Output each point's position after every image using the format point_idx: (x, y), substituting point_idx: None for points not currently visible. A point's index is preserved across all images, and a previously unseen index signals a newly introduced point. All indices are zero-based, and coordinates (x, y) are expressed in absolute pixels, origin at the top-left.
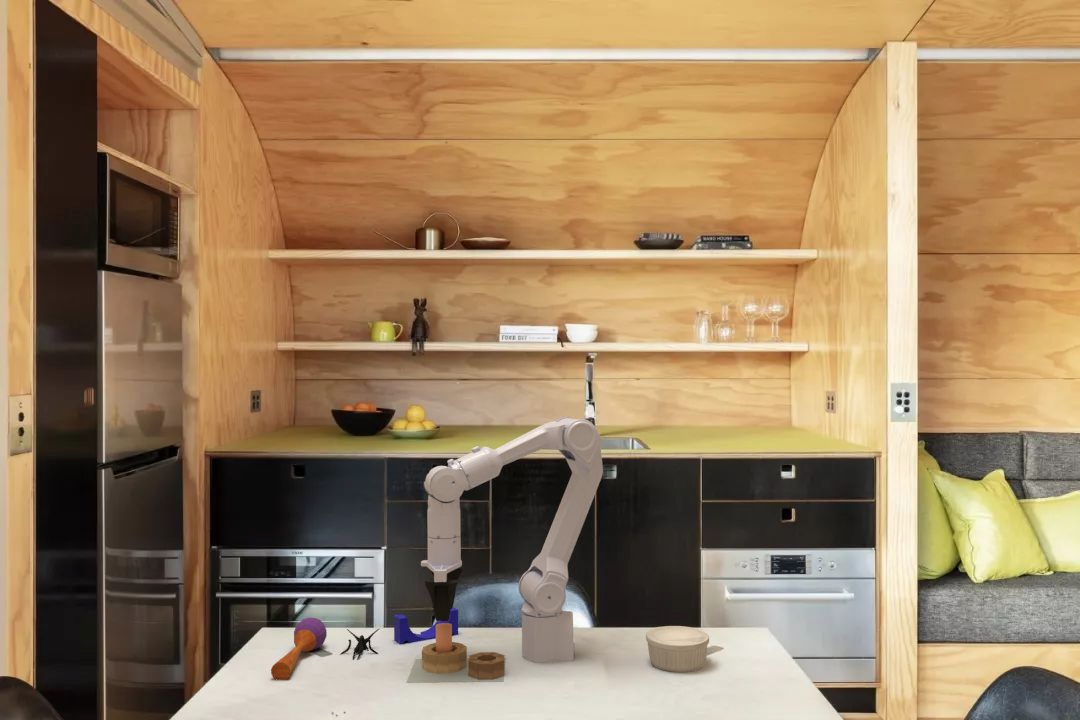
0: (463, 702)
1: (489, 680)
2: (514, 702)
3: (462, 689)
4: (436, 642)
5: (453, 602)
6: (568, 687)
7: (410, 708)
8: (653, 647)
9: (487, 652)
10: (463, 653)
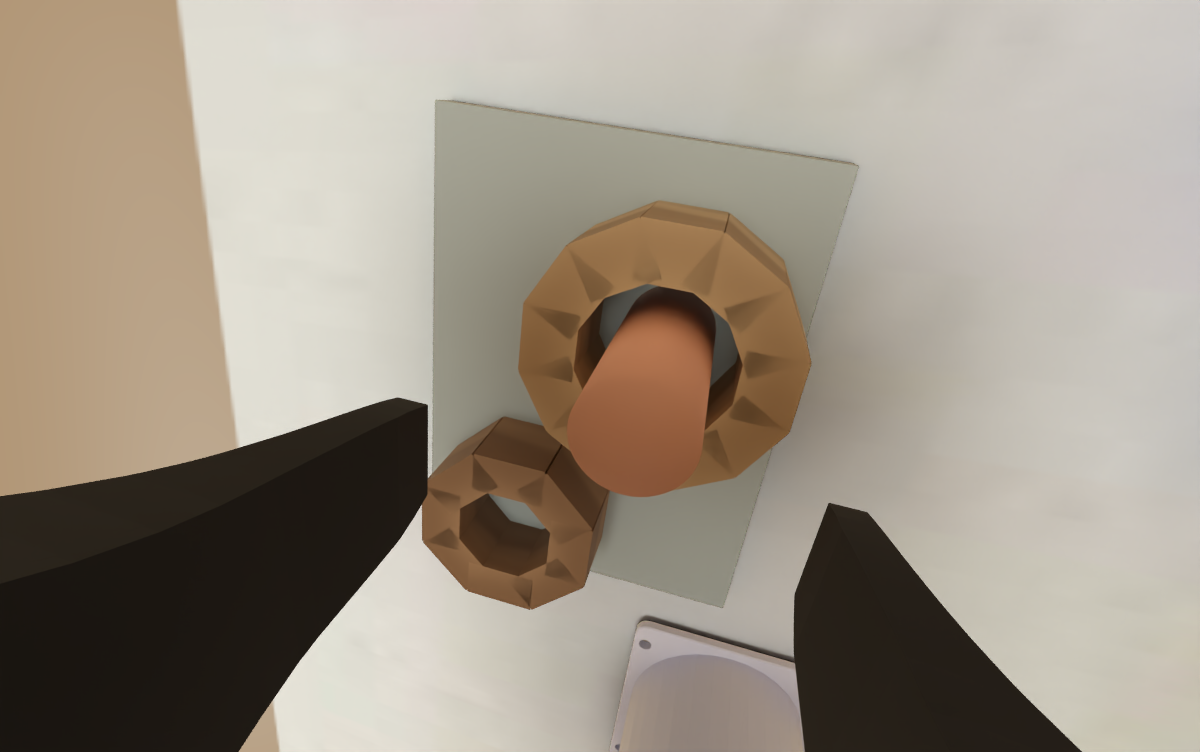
0: (302, 349)
1: None
2: None
3: None
4: (633, 332)
5: (796, 656)
6: (438, 677)
7: (223, 123)
8: None
9: (584, 559)
10: None
